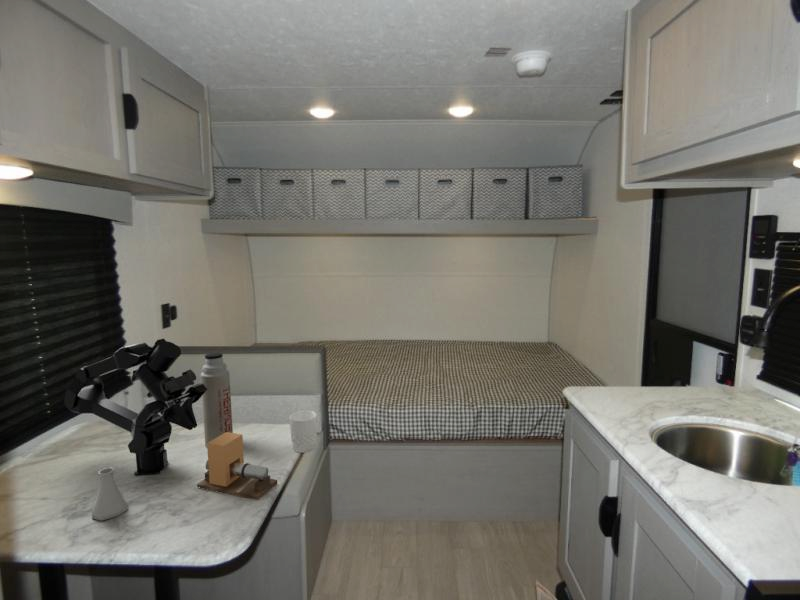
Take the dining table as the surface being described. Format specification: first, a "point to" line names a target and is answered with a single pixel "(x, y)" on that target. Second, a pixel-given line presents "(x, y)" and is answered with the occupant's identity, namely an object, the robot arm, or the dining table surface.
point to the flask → (108, 497)
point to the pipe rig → (243, 481)
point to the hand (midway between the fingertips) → (193, 427)
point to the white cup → (303, 431)
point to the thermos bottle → (216, 397)
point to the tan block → (224, 457)
